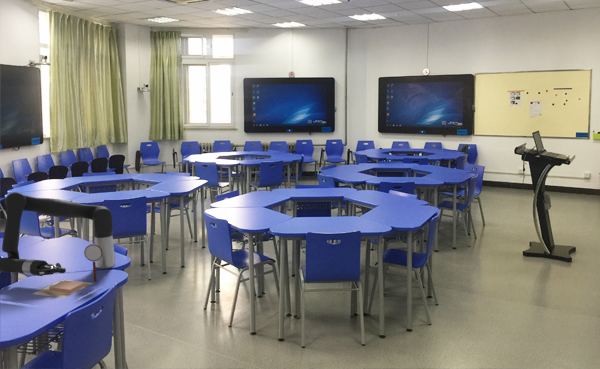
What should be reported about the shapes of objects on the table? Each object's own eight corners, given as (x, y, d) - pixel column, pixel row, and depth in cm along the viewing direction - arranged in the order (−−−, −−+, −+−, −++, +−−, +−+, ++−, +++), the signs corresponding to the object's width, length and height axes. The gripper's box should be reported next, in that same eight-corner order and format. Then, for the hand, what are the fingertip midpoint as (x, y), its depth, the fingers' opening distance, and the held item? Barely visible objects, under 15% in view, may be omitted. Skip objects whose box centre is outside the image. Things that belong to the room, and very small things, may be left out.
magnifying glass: (86, 283, 260) (83, 245, 257) (87, 282, 262) (84, 244, 259) (103, 283, 261) (101, 244, 258) (104, 282, 263) (102, 243, 260)
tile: (64, 280, 257) (84, 282, 254) (64, 284, 257) (84, 286, 254) (49, 287, 247) (70, 289, 244) (49, 291, 248) (70, 293, 244)
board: (63, 281, 264) (62, 279, 263) (93, 285, 259) (93, 283, 258) (32, 295, 245) (32, 293, 244) (64, 299, 240) (64, 297, 239)
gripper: (23, 264, 247) (54, 267, 243) (44, 256, 260) (73, 259, 255) (25, 279, 249) (55, 282, 244) (45, 270, 261) (74, 273, 256)
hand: (64, 270), depth 250 cm, fingers closed
